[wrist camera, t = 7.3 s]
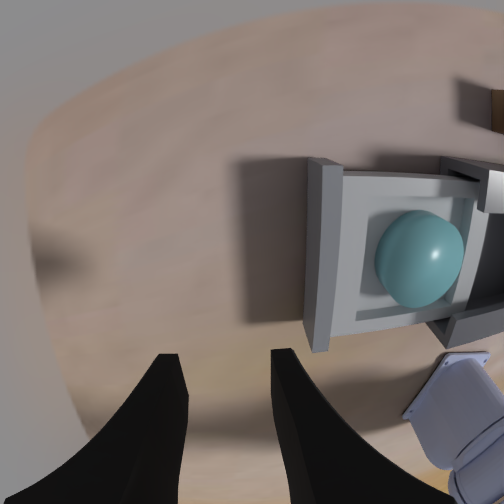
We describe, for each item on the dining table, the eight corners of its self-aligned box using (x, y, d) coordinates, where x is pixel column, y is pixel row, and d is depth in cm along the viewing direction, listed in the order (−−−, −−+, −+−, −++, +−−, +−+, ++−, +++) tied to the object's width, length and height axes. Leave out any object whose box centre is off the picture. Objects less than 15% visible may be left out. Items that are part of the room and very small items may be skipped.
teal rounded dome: (363, 290, 18) (374, 306, 16) (388, 202, 16) (404, 211, 14) (431, 294, 19) (444, 308, 17) (457, 217, 16) (474, 227, 15)
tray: (445, 303, 21) (465, 324, 18) (302, 323, 20) (311, 353, 18) (471, 167, 16) (500, 177, 14) (307, 157, 16) (322, 165, 13)
